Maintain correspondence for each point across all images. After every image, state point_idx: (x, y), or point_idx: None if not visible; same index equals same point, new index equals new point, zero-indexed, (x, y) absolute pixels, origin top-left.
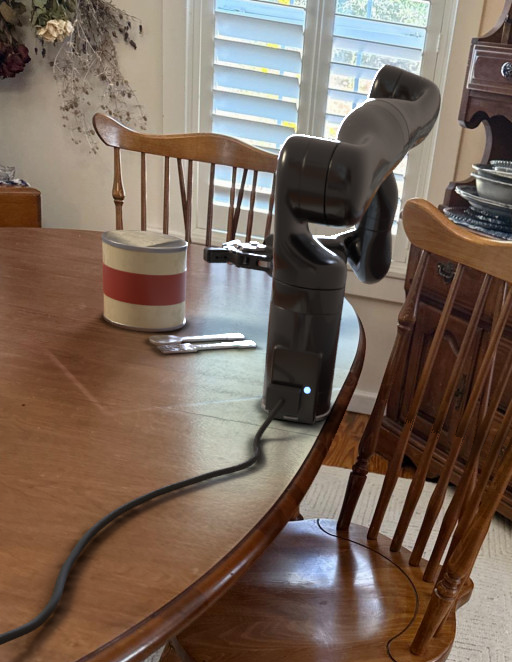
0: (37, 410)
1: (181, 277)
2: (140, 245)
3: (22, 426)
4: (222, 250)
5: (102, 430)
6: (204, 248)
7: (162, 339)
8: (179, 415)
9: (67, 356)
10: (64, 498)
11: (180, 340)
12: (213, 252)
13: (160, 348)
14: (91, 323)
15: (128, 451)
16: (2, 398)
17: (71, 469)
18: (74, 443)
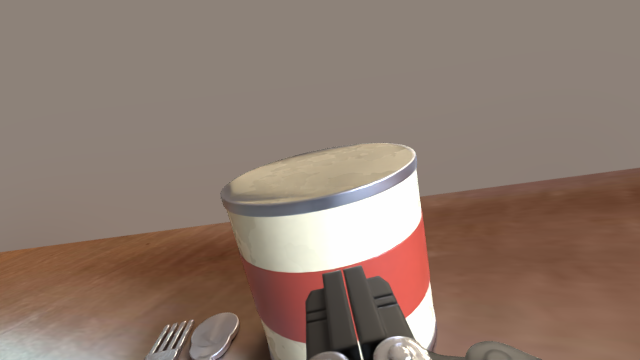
0: (133, 249)
1: (252, 273)
2: (255, 172)
3: (119, 246)
4: (329, 327)
5: (64, 276)
6: (360, 265)
7: (212, 328)
8: (11, 324)
9: (225, 254)
10: (23, 265)
11: (192, 355)
12: (316, 296)
13: (181, 323)
14: None
15: (19, 288)
16: (167, 236)
17: (43, 266)
18: (68, 265)
